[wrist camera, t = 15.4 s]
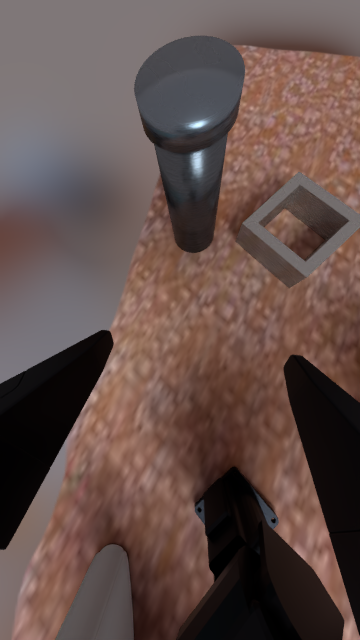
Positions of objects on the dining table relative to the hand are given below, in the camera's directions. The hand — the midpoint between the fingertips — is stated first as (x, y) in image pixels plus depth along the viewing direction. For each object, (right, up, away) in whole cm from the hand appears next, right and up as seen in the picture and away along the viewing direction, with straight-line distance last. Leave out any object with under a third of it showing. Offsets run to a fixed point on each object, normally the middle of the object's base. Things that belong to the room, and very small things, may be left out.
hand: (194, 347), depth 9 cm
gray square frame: (+14, +12, +14) cm, 23 cm away
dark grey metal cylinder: (+1, +14, +16) cm, 21 cm away
